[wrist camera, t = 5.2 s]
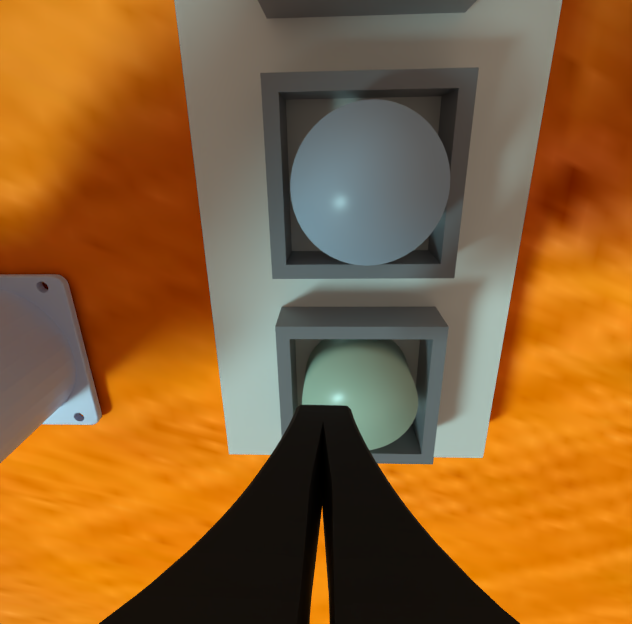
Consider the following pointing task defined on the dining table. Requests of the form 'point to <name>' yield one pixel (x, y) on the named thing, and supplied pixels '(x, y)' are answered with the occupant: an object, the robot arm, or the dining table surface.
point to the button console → (325, 271)
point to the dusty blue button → (370, 182)
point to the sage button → (364, 385)
